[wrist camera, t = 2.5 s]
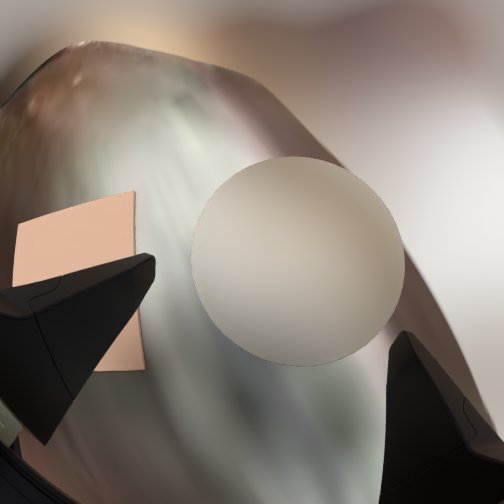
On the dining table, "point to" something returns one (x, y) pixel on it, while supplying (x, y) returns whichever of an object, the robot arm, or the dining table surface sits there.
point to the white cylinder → (297, 261)
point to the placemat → (84, 258)
